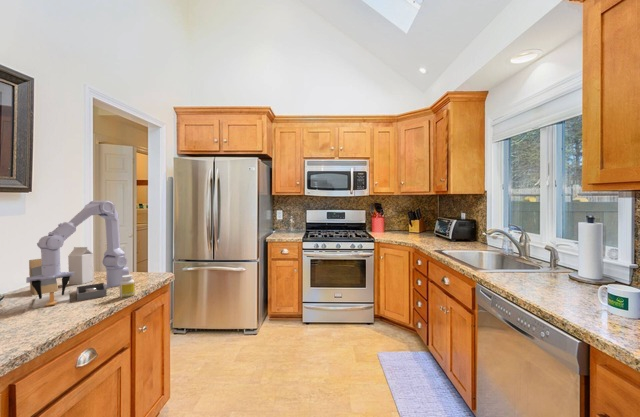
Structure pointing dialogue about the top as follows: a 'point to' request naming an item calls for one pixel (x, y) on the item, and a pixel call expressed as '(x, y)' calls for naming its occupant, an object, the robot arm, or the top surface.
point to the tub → (90, 295)
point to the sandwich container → (46, 285)
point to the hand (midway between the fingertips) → (51, 296)
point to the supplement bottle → (127, 287)
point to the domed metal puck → (90, 289)
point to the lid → (51, 299)
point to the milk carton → (80, 266)
